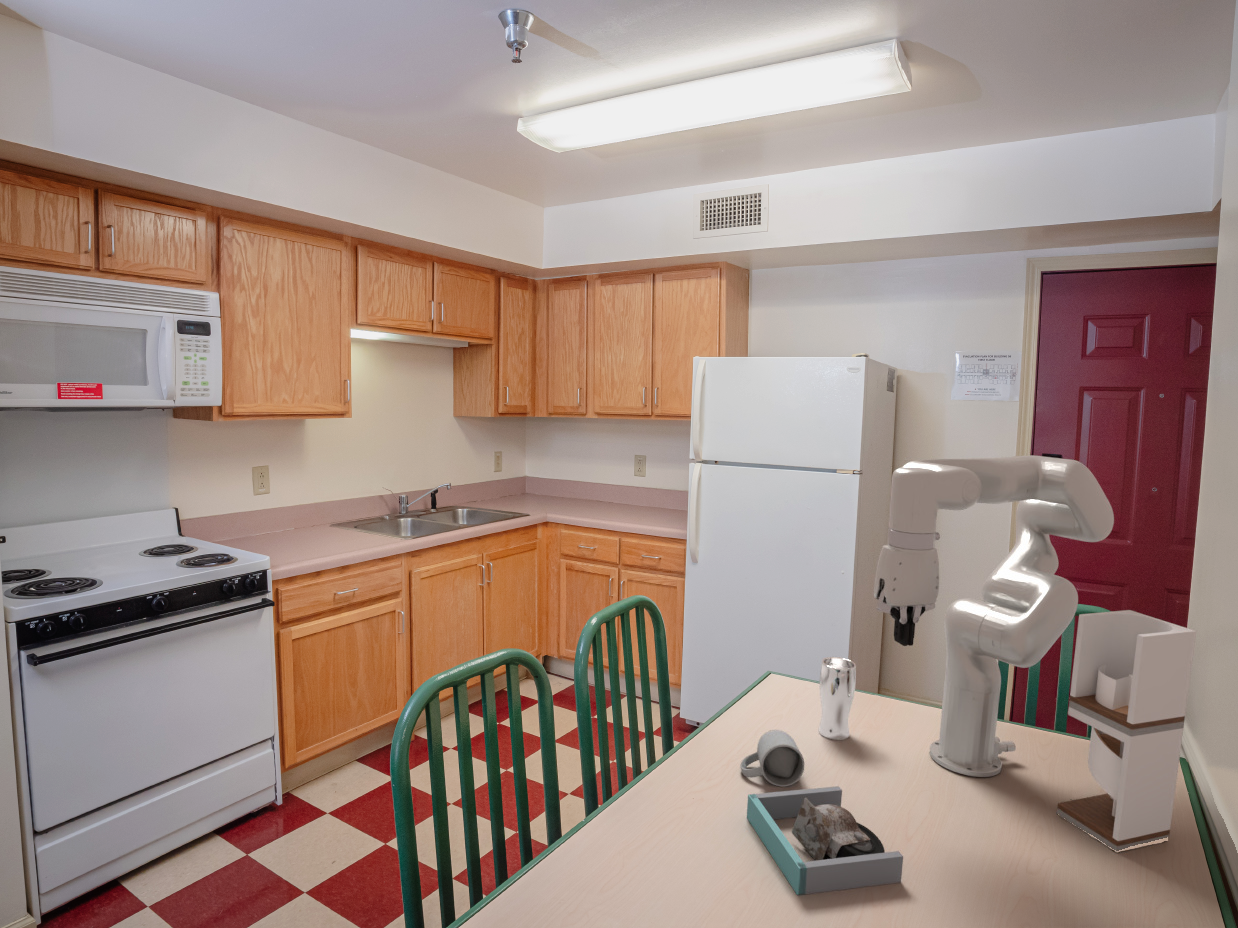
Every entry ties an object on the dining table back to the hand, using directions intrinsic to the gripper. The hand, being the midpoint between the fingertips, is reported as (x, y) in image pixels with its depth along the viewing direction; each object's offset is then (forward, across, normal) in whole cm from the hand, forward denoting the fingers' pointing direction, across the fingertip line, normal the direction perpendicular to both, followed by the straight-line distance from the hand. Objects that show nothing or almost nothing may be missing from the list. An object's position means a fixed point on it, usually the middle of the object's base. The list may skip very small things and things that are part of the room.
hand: (903, 642), depth 127 cm
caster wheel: (+27, +19, +15) cm, 36 cm away
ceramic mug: (+27, +20, -7) cm, 34 cm away
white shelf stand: (+27, -29, +17) cm, 44 cm away
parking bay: (+26, +22, +13) cm, 37 cm away
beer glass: (+27, 0, -20) cm, 34 cm away
